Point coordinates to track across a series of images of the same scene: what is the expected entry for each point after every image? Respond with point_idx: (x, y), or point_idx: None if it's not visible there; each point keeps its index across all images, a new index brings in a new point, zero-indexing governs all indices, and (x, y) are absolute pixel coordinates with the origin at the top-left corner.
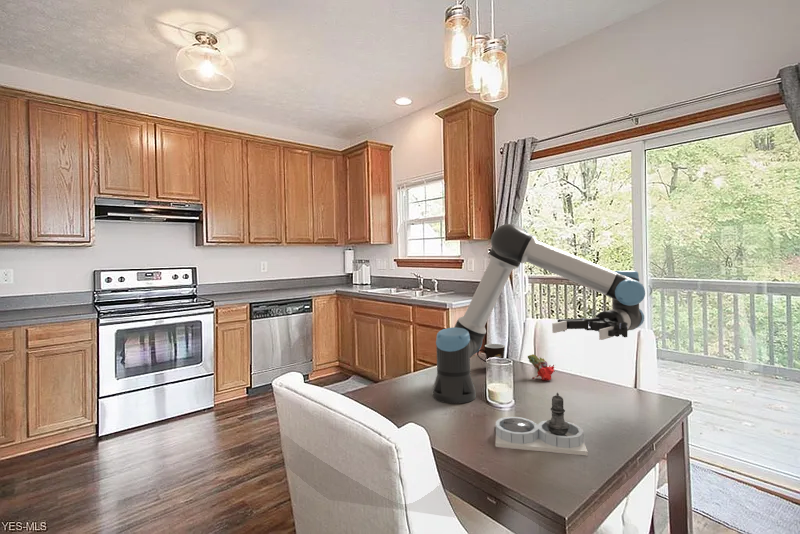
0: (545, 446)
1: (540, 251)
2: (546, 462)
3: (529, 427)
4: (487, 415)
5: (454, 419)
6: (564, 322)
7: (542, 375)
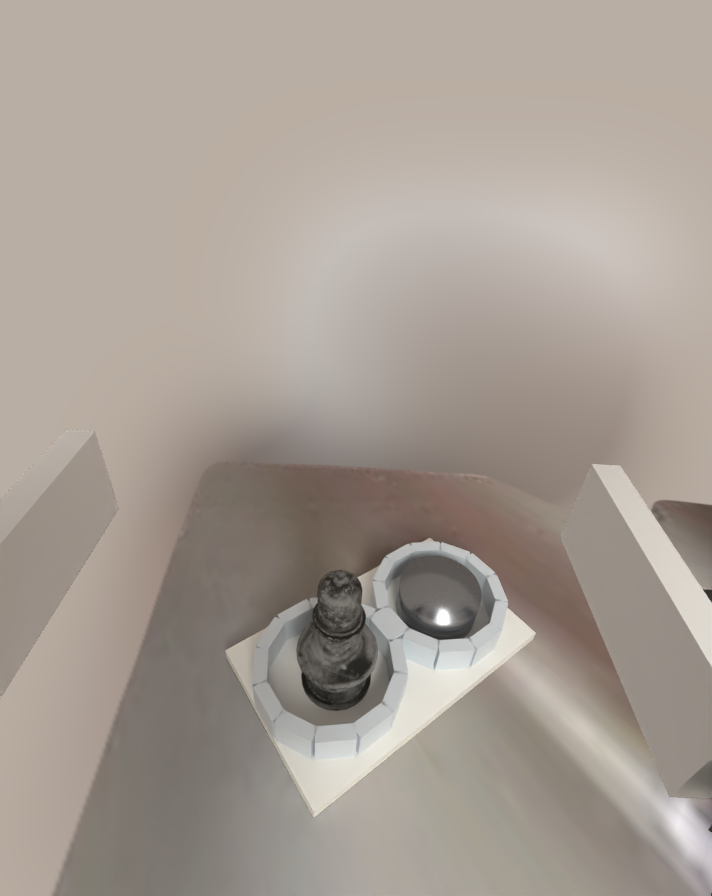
0: None
1: None
2: (301, 560)
3: (402, 601)
4: None
5: None
6: (692, 655)
7: None
